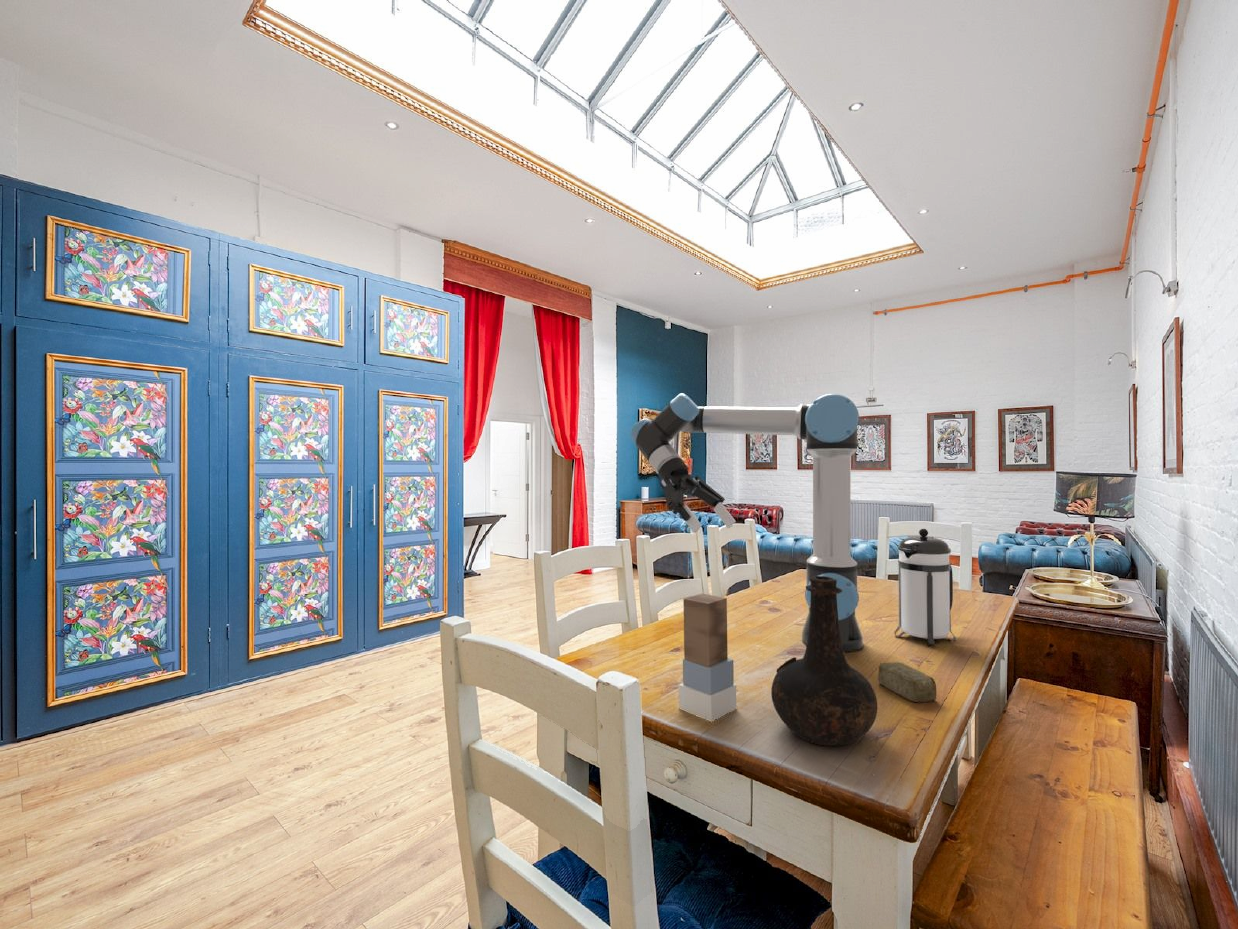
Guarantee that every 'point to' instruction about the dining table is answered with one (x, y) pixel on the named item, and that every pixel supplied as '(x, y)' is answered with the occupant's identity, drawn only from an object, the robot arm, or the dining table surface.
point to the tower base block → (707, 702)
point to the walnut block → (705, 629)
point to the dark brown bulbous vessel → (824, 680)
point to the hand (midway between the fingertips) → (715, 527)
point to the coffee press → (925, 588)
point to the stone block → (907, 682)
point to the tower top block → (708, 676)
